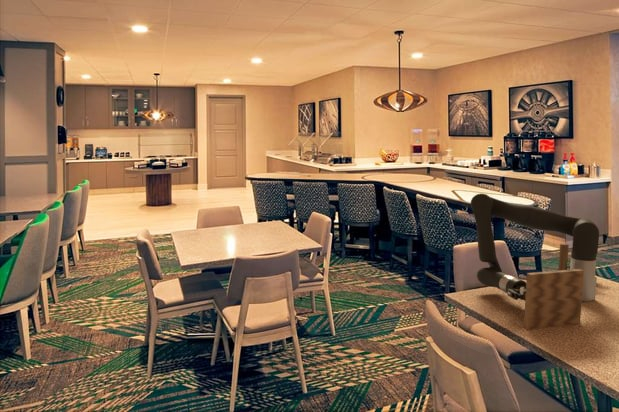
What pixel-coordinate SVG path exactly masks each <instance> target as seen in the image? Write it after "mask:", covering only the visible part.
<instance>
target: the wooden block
mask: <svg viewBox="0 0 619 412" xmlns="http://www.w3.org/2000/svg"><path fill="white" fill-rule="evenodd" d="M569 246H570V245H569V244H568V243H563V242H562V243H560V244H559V255H558V268H557V269H558V270H557V271H561V270H568V269H570V264H569V265H568V262H569V261H568V259H569Z"/></svg>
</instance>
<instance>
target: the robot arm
mask: <svg viewBox="0 0 619 412" xmlns="http://www.w3.org/2000/svg"><path fill="white" fill-rule="evenodd" d="M470 208H471V210H472V212H473V216H474V220H475V225H476V233H477V234H476V235H477V237H476V238H477V249H478V256H479V257H478V258H479V261H480V262H482V263H488V265H489V267H481V268H480V269H478V271H477V272H476V273H477V274H476V278H477V280H478V281H479V283H481V284H482V285H483V286H487V287H491V288H497V289H499V290H500V291H502V292H503V293H505V294H507V296H508V297H510V298H511V299H512V300H515V301H518V300H520V301H524V302H525V298H526V280H522V279H520V278H518V277H516V276H513V275H509V274H507V273H505V272H503V270H502V268H501V266H500V263H499V261H498V258H497V252H496V243H495V238H494V233H493V228H492V227H493V226H492V217H496V218H501V219H503V220H506V221H508V222H511V223H513V224H516V225H519V226H521V227H525V228H529V229H534V230H539V231H548V232H549V231H550V232H558V233H560V234H561V233H562V234H564V235H568V236H571V237H572V245H571V246H572V248H571V251H570V264H569V265H570V268H569V270H573V269H581V270H584V277H583V290H582V302H585V303H586V302H587V303H588V302H592V301H594V300H596V295H597V294H596V293H597V280H598V278H597V277H596V266H597V255H598V254H599V253H598V251H599V241H600V230H599V227H598V226H597V225H596V224H595V222H593V220H590V219H587V218H586V219H585V218H580V217H572V216H567V215H563V214H559V213H556V212H554V211H550V210H547V209H544V208H540V207H537V206H532V205H529V204H523V203H514V202H508V201H503V200H500V199H498V198H494V197H492V196H490V195H488V194H485V193H478V194H475V195H474V196H473V197H472V198H471V200H470Z"/></svg>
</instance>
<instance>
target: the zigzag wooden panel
mask: <svg viewBox="0 0 619 412" xmlns="http://www.w3.org/2000/svg"><path fill="white" fill-rule="evenodd" d="M583 277H584V270H581V269H573V270H570V269H567V270H561V271H558V270H551V271H549V270H548V271H536V272H526V280H525V282H526V298H525V301H524V302H525V303H524V318H523V319H524V320H523V328H525V329H527V330H533V329H542V328H543V329H544V328H550V327H561V326H569V325H579V324H581V317H582V316H581V315H582V314H581V313H582V302H583V301H582V290H583Z"/></svg>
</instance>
